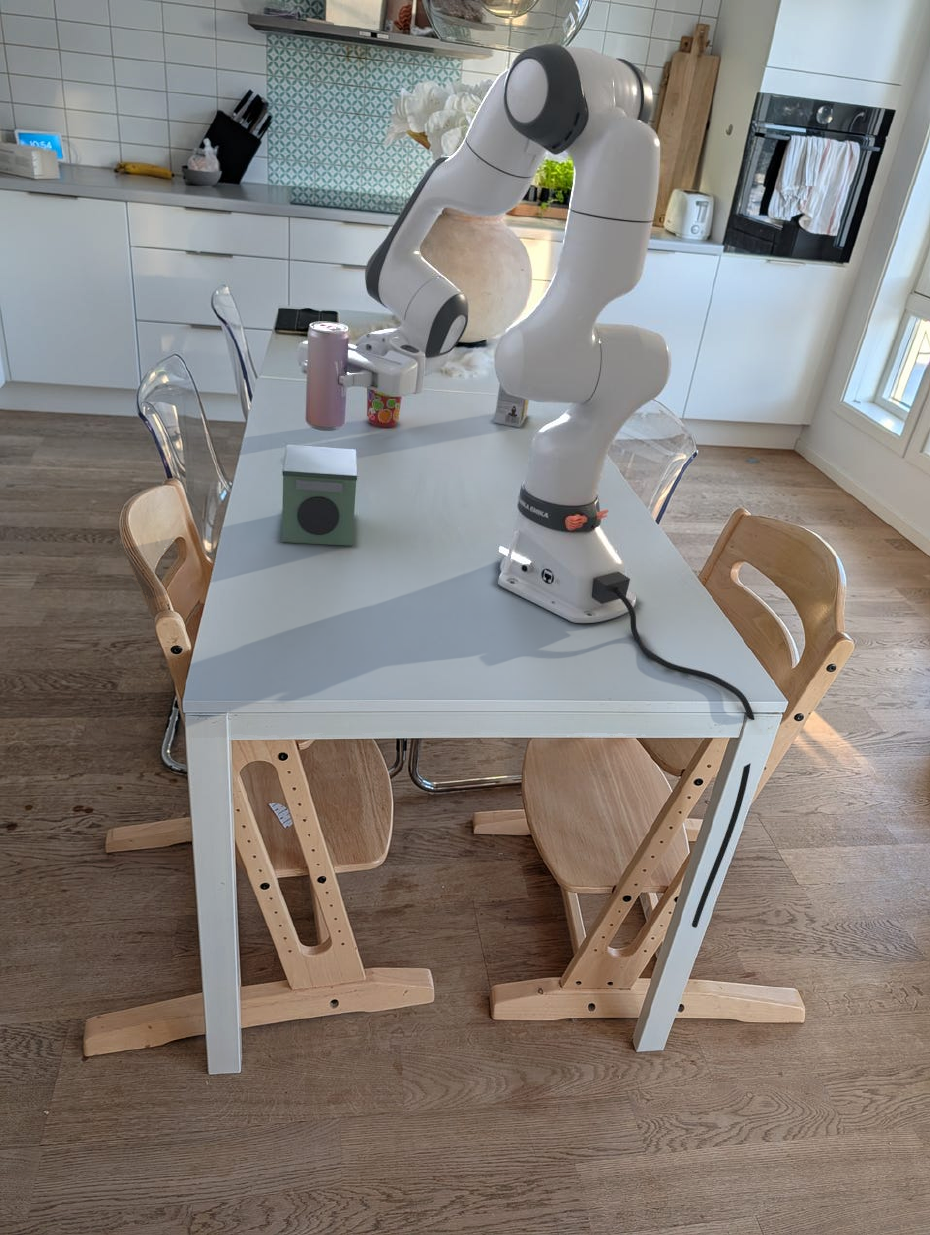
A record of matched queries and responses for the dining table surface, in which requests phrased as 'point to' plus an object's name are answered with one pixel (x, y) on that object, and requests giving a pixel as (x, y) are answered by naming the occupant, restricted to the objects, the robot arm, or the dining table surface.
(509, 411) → the coffee box
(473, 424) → the dining table surface
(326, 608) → the dining table surface
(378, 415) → the smoothie
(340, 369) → the beverage can
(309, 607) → the dining table surface
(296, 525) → the washer stand
